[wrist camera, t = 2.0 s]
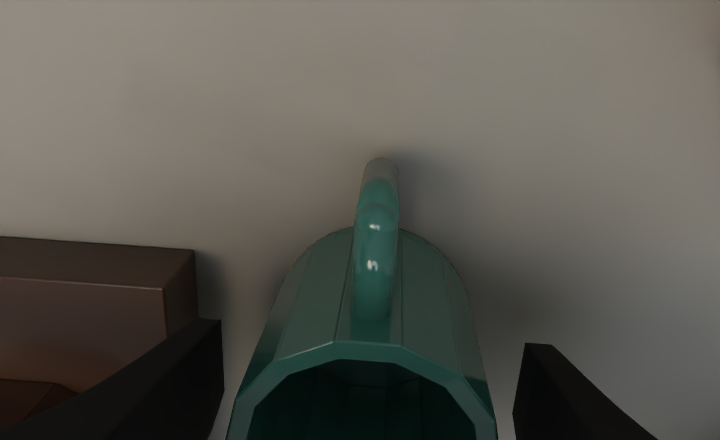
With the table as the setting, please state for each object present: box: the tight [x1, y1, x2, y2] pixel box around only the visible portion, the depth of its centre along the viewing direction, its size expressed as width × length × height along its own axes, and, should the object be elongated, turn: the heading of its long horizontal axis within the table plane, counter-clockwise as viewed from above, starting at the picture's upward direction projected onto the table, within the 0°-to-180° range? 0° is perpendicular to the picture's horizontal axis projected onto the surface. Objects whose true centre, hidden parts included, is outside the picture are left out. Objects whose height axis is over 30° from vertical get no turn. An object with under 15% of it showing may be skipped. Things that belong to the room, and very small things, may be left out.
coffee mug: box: [225, 157, 498, 440], centre depth 13 cm, size 7×5×6 cm
